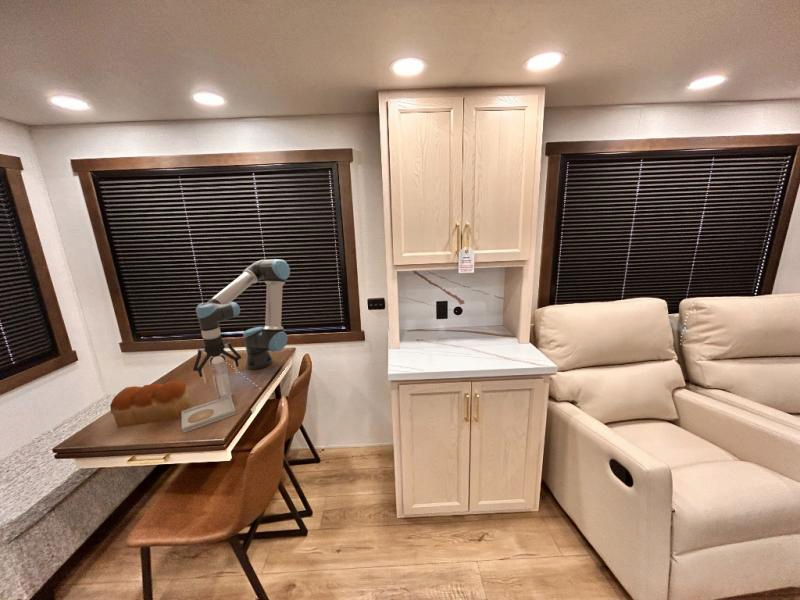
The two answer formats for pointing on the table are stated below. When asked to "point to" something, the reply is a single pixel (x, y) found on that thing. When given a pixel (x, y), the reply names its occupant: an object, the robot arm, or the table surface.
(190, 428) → the tray
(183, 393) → the bread
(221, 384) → the water bottle
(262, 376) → the table surface
